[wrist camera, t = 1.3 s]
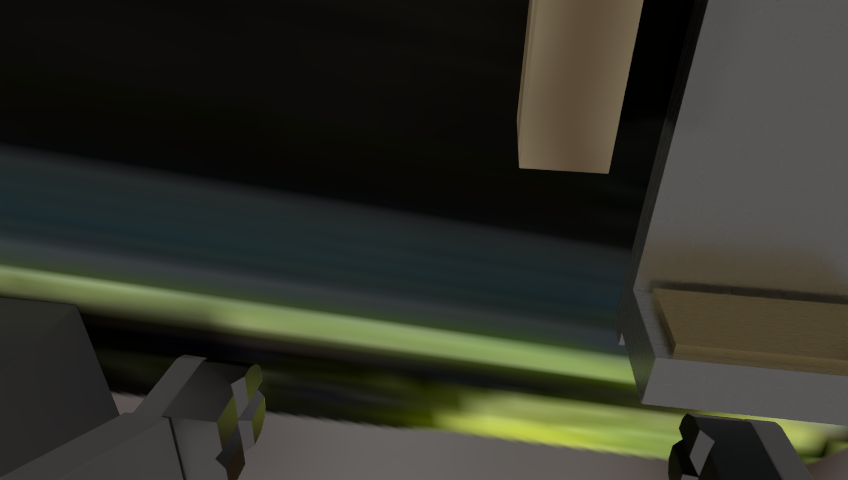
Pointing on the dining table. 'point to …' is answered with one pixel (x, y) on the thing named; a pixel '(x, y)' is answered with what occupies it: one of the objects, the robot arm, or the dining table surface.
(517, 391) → the dining table surface
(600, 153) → the maple block
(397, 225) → the dining table surface
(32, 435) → the tool tote
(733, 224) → the vise base
